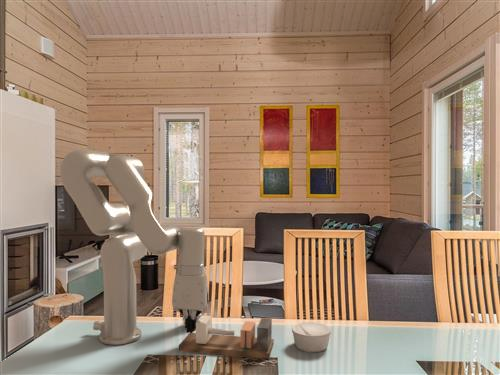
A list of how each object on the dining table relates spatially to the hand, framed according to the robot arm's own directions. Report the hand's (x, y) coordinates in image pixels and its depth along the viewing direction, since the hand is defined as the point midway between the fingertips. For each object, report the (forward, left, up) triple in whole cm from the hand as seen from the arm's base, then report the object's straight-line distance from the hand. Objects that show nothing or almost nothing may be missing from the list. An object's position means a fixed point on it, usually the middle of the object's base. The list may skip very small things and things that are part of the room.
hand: (190, 331), depth 123 cm
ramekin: (+35, +6, -4) cm, 36 cm away
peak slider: (+17, -1, -2) cm, 17 cm away
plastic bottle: (-4, +14, -4) cm, 15 cm away
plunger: (+8, 0, -2) cm, 8 cm away
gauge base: (+11, 0, -4) cm, 12 cm away
